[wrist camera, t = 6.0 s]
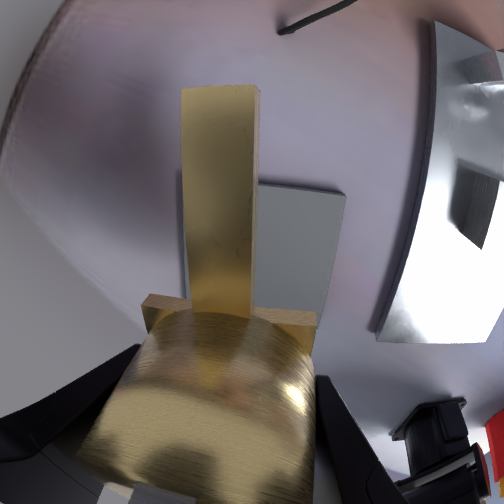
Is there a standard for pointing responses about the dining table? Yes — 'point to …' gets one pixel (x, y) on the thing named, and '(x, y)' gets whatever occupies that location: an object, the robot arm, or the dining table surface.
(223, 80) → the dining table surface
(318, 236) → the mat
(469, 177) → the lock base
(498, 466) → the french fries
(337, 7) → the sunglasses
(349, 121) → the dining table surface
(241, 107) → the gold rounded piece
